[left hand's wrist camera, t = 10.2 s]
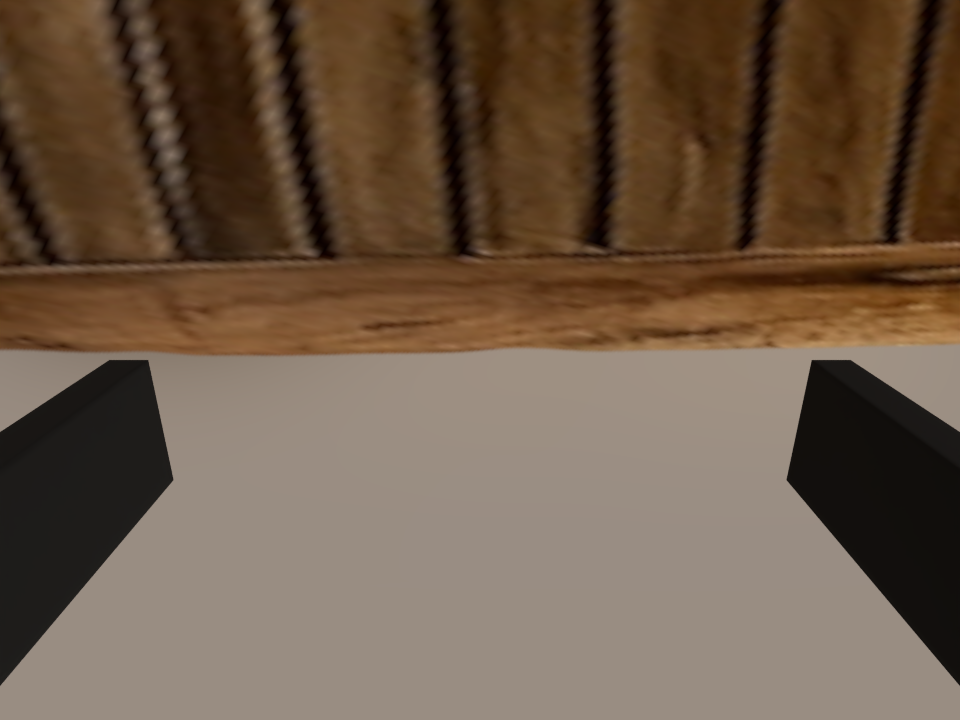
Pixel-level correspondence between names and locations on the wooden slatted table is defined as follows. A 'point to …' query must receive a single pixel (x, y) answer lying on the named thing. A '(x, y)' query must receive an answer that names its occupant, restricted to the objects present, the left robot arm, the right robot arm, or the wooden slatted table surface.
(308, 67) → the wooden slatted table surface
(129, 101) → the wooden slatted table surface
